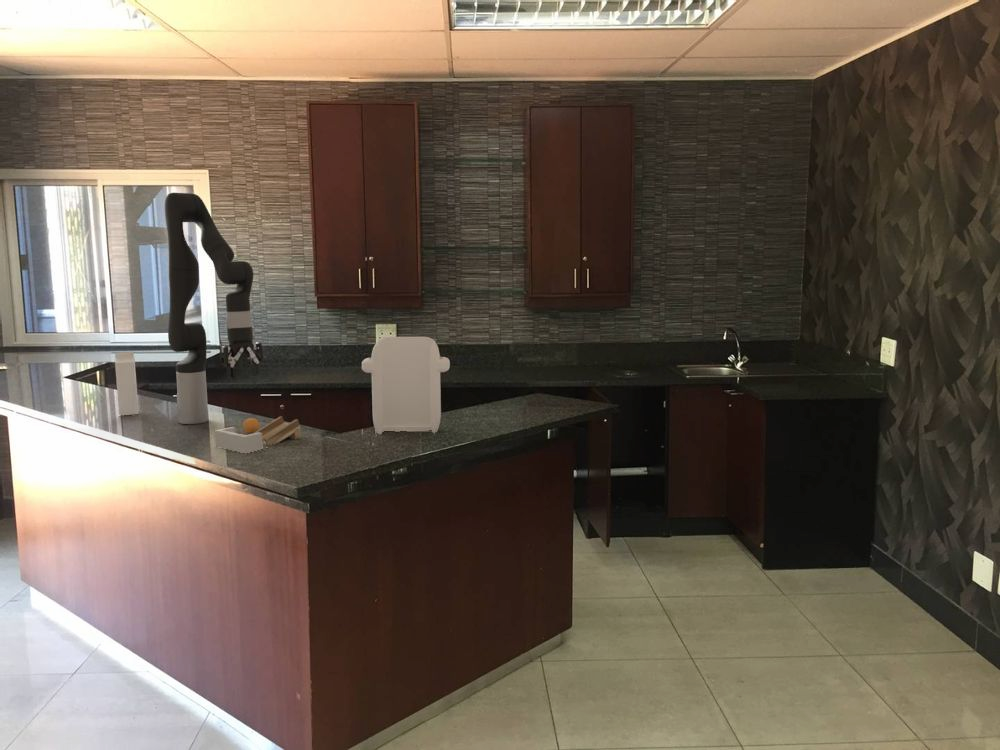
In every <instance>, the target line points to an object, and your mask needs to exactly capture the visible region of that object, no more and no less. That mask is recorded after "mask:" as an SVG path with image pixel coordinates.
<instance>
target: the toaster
mask: <svg viewBox="0 0 1000 750" xmlns="http://www.w3.org/2000/svg"><path fill="white" fill-rule="evenodd" d="M439 350H440V349H439V346H438V344H437V343H436V341H435V340H434V339H433V338H431V337H428V336H385V337H382V338H380V339H378V341H377V342H376V343H375V344H374V346H373V348H372V351H371V356H370V357H367V358H364V359H363V360H362V361H361V370H362V372H364V373H367V374H371V396H372V397H371V400H372V401H371V405H372V408H371V409H372V423H373V427H374V429H375V431H376V433H377V434H378V435H382V433H383V432H384V431H395V432H397V433H398V432H399V433H401V432H400V431H407V432H430V431H429V430H432V431H431V432H432V434H433V433H434V434H436V433H437V432H438V430H439V427H440V423H441V418H442V417H441V416H442V400H441V399H442V398H441V397H442V395H441V392H442V391H441V388H442V387H441V373H445V372H447V371H449V369H450V367H451V366H450V365H451V363H450V362H451V361H450V359H449V358H448V357H446V356H441V355H440V351H439ZM395 432H394V433H395ZM435 432H436V433H435ZM384 433H385V432H384Z"/></svg>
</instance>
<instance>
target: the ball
mask: <svg viewBox="0 0 1000 750" xmlns="http://www.w3.org/2000/svg"><path fill="white" fill-rule="evenodd" d="M242 428H243V431H244V432H245V433H246V434H248V435H249V434H253V433H254V432H256V431H258V430H259V429H260V428H261V426H260V422H259V420H258V419H257V418H253V417H249V418H247V419H245V420H244V422H243V424H242Z"/></svg>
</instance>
